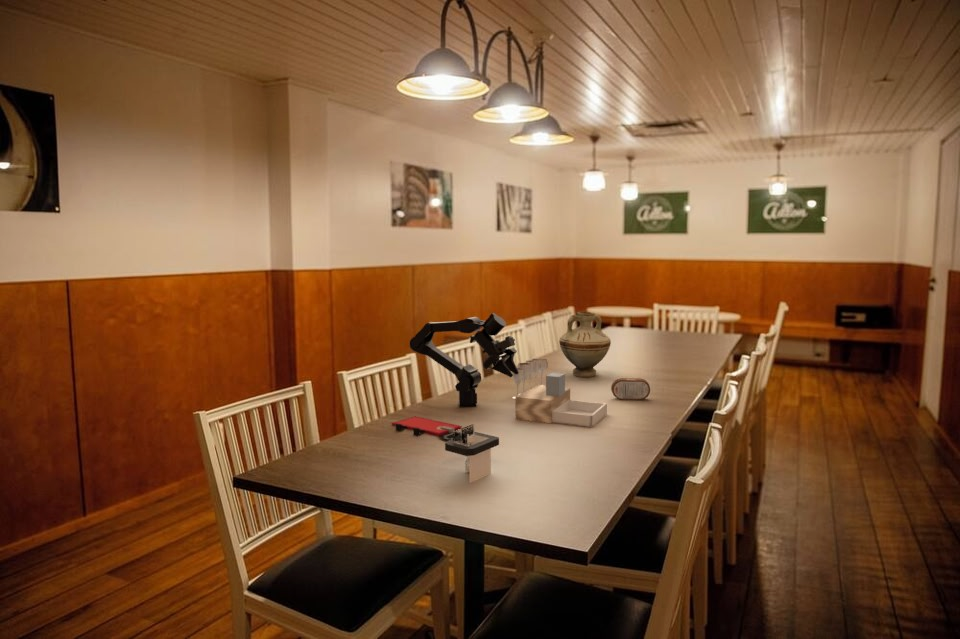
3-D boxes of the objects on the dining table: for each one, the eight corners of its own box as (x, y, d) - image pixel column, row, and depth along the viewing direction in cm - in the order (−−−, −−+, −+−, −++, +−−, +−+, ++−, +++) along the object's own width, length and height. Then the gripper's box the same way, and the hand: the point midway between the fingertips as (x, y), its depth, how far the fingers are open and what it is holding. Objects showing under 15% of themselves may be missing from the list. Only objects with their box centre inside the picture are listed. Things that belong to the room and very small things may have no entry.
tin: (649, 398, 247) (649, 377, 246) (650, 400, 244) (651, 379, 243) (611, 398, 249) (611, 377, 248) (611, 400, 246) (612, 379, 245)
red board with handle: (448, 444, 194) (478, 433, 206) (448, 435, 194) (478, 425, 205) (383, 429, 213) (415, 420, 225) (383, 421, 213) (414, 412, 224)
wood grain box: (515, 418, 221) (515, 396, 220) (536, 405, 239) (536, 385, 238) (550, 423, 215) (550, 400, 214) (570, 409, 233) (570, 388, 232)
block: (546, 395, 222) (546, 375, 221) (552, 391, 228) (552, 372, 227) (559, 396, 220) (559, 377, 219) (565, 392, 225) (565, 373, 224)
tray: (550, 422, 216) (550, 411, 216) (567, 409, 232) (567, 399, 232) (591, 427, 209) (591, 416, 209) (606, 414, 225) (606, 403, 225)
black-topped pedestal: (466, 452, 187) (466, 409, 185) (539, 472, 170) (539, 424, 169) (398, 480, 165) (397, 432, 164) (474, 505, 149) (473, 451, 147)
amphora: (617, 373, 296) (618, 310, 293) (598, 382, 276) (599, 315, 273) (571, 368, 309) (571, 308, 305) (550, 377, 289) (550, 313, 285)
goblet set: (521, 400, 248) (521, 367, 247) (508, 398, 251) (508, 366, 250) (550, 385, 272) (550, 356, 271) (538, 384, 275) (538, 355, 274)
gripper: (490, 332, 223) (518, 365, 219) (511, 326, 239) (538, 356, 235) (471, 353, 227) (498, 385, 223) (493, 345, 244) (519, 375, 240)
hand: (515, 375), depth 230 cm, fingers open, 5 cm apart
